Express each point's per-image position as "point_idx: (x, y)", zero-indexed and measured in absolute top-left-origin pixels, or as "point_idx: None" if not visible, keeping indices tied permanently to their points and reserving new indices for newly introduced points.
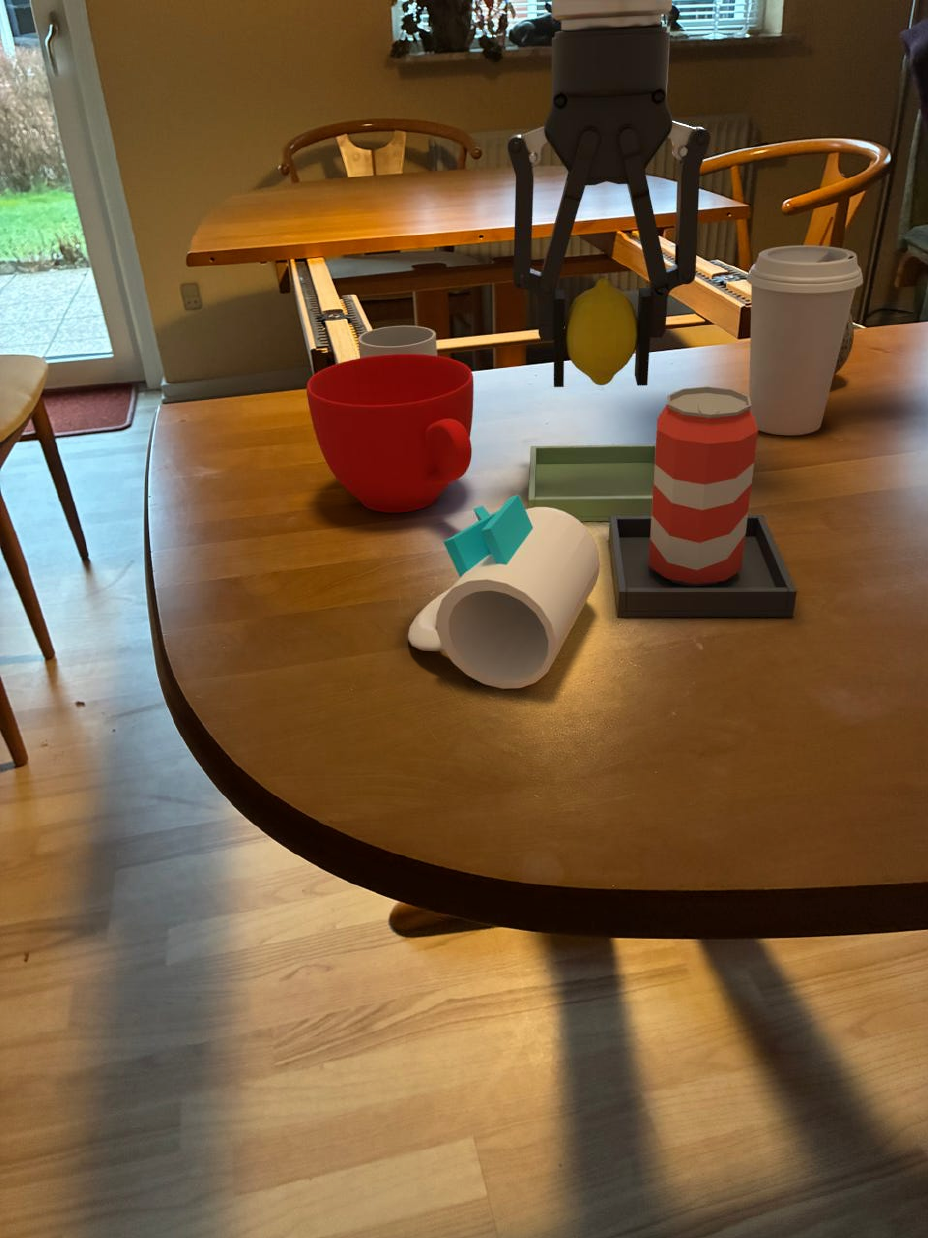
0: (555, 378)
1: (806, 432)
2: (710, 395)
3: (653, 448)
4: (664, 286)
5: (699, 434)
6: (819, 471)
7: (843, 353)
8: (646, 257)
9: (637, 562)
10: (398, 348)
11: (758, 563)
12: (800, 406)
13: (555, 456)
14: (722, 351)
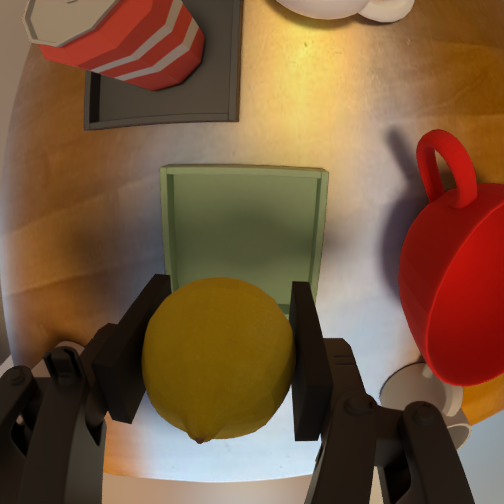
0: (307, 288)
1: (61, 342)
2: (60, 33)
3: None
4: (56, 365)
5: None
6: (48, 270)
7: None
8: (70, 435)
9: (214, 61)
10: (447, 425)
11: None
12: None
13: (285, 308)
14: (139, 471)
